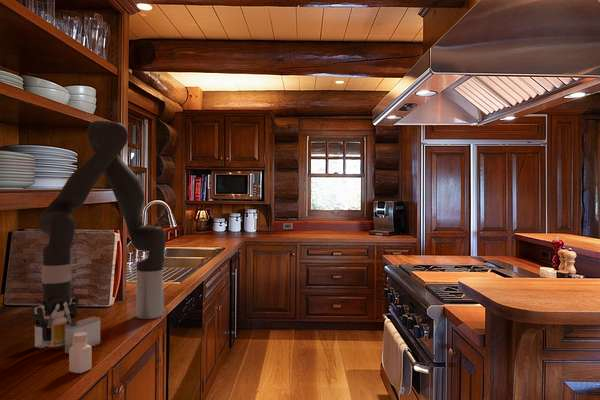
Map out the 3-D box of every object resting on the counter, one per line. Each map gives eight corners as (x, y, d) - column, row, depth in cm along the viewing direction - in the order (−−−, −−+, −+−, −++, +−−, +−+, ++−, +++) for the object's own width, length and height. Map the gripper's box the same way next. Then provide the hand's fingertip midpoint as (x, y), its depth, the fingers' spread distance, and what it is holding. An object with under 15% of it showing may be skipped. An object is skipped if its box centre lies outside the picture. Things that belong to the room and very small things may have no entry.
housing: (63, 336, 143) (63, 312, 143) (100, 343, 138) (100, 317, 138) (34, 346, 134) (34, 320, 134) (73, 354, 129) (73, 326, 128)
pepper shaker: (68, 372, 116) (68, 335, 116) (81, 366, 120) (81, 330, 119) (79, 374, 114) (79, 337, 114) (92, 369, 118) (92, 332, 118)
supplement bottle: (70, 341, 135) (70, 308, 135) (61, 347, 130) (61, 313, 130) (51, 341, 135) (51, 308, 135) (42, 347, 130) (42, 313, 129)
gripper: (67, 274, 140) (67, 329, 140) (24, 283, 127) (24, 343, 127) (86, 276, 137) (86, 332, 138) (43, 285, 124) (43, 347, 124)
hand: (56, 337), depth 132 cm, fingers closed on supplement bottle, 5 cm apart
